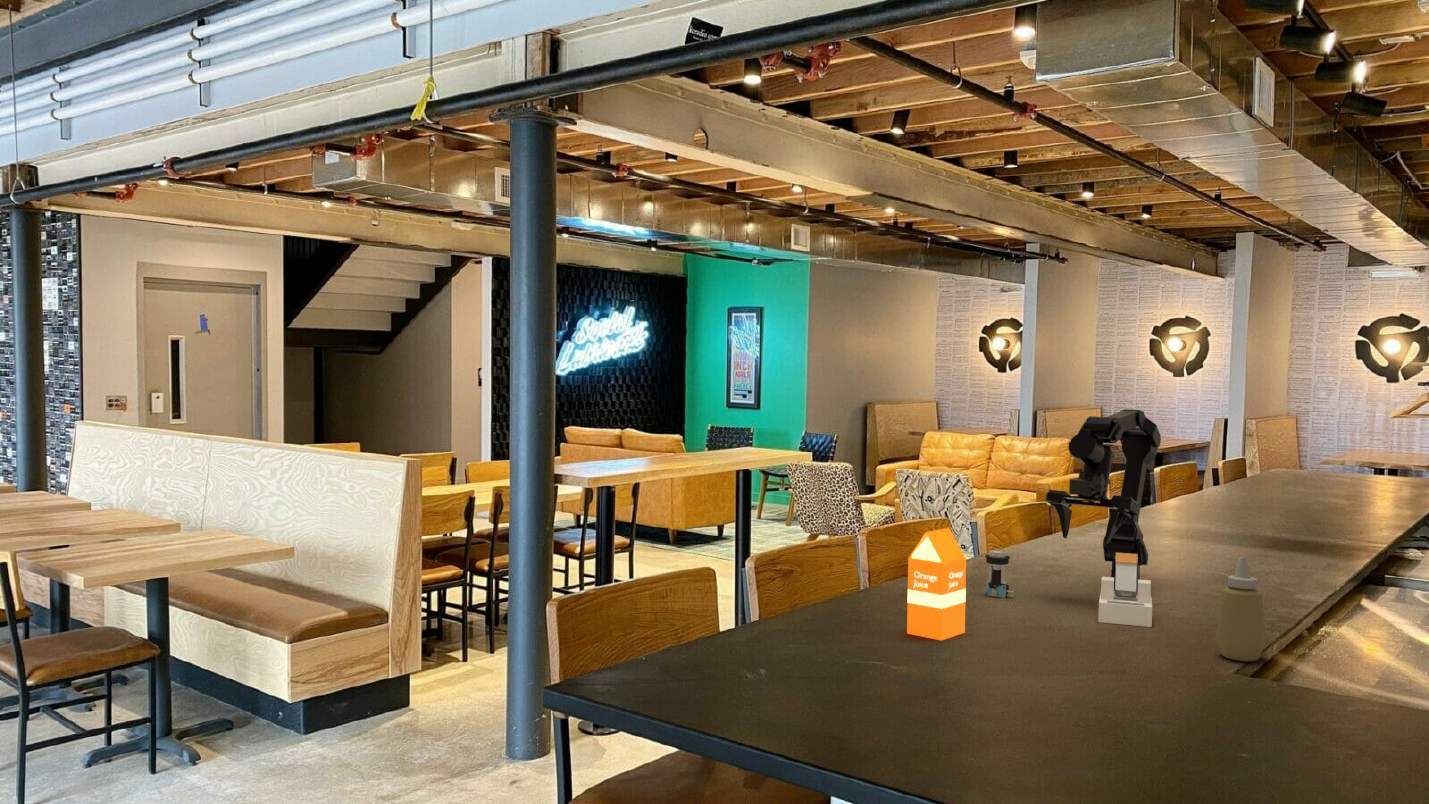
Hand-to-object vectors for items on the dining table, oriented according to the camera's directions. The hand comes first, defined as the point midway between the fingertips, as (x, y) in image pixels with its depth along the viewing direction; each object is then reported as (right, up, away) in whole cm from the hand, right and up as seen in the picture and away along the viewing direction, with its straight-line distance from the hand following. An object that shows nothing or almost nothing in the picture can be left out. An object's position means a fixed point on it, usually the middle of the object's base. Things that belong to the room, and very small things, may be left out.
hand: (1085, 540), depth 229 cm
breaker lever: (+4, -9, -12) cm, 16 cm away
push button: (-16, -14, +9) cm, 23 cm away
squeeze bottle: (+13, -16, -41) cm, 46 cm away
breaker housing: (+4, -15, -12) cm, 19 cm away
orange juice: (-38, -15, -26) cm, 48 cm away
